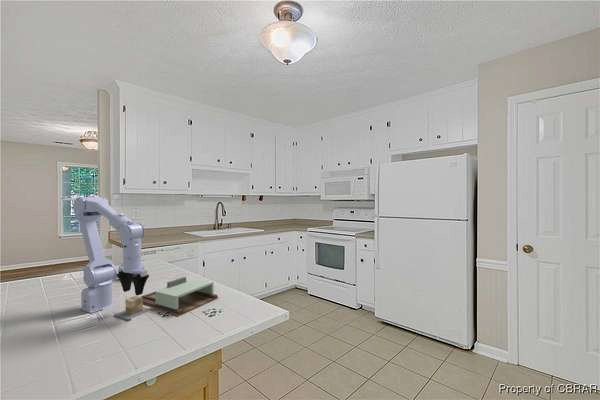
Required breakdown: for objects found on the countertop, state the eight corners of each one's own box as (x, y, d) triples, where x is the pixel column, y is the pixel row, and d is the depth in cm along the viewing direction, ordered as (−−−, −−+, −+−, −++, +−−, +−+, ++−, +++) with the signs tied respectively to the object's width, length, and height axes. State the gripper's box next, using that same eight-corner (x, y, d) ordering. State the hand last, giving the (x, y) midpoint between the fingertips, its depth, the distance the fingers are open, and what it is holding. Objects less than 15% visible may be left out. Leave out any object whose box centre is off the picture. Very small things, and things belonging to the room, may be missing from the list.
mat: (128, 321, 97) (128, 319, 97) (113, 315, 101) (113, 314, 101) (152, 311, 105) (152, 309, 105) (138, 307, 109) (138, 305, 109)
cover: (176, 309, 102) (175, 291, 102) (155, 303, 108) (155, 286, 107) (213, 293, 118) (213, 277, 118) (193, 289, 124) (193, 273, 124)
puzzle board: (177, 316, 100) (177, 312, 100) (129, 301, 115) (129, 298, 115) (218, 298, 118) (218, 294, 118) (171, 287, 132) (171, 284, 132)
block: (132, 314, 101) (131, 301, 101) (125, 312, 103) (125, 299, 102) (142, 310, 104) (142, 297, 104) (136, 308, 106) (136, 295, 106)
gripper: (154, 256, 103) (155, 292, 103) (131, 252, 110) (132, 286, 110) (135, 260, 97) (136, 299, 97) (112, 256, 103) (113, 292, 104)
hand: (132, 292), depth 103 cm, fingers open, 7 cm apart
